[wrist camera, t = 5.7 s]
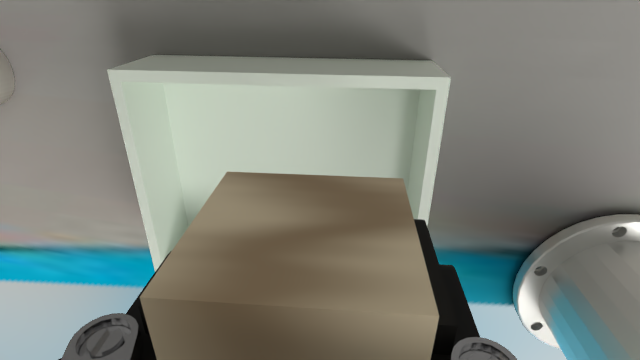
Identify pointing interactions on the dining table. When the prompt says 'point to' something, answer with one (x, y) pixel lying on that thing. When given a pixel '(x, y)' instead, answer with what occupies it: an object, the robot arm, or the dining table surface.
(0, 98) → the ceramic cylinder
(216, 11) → the dining table surface
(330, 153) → the tote
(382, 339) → the beech cube
